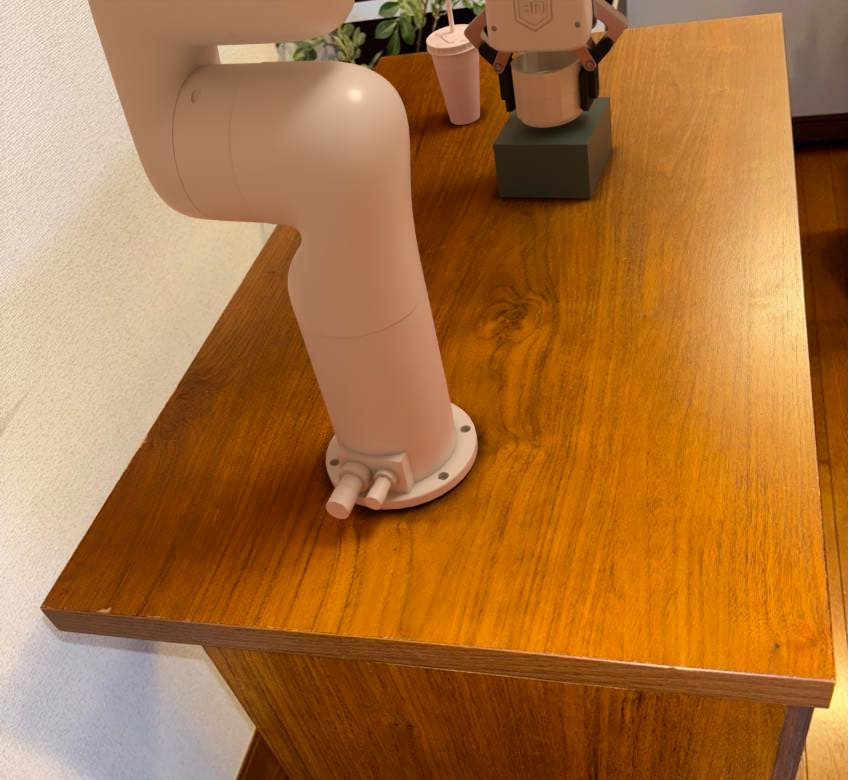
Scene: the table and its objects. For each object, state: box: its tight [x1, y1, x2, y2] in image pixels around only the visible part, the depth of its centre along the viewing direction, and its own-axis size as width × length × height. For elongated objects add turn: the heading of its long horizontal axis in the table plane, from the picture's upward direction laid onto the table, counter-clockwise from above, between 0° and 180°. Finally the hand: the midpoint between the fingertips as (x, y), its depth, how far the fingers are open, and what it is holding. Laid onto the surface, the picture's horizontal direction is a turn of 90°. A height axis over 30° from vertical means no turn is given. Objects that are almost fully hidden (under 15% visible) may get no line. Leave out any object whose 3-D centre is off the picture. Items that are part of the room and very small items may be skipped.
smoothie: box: [425, 0, 481, 126], centre depth 115 cm, size 6×6×14 cm
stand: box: [492, 96, 613, 200], centre depth 105 cm, size 10×10×6 cm
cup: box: [510, 50, 583, 128], centre depth 100 cm, size 7×7×6 cm
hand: (550, 104), depth 101 cm, fingers closed on cup, 7 cm apart
